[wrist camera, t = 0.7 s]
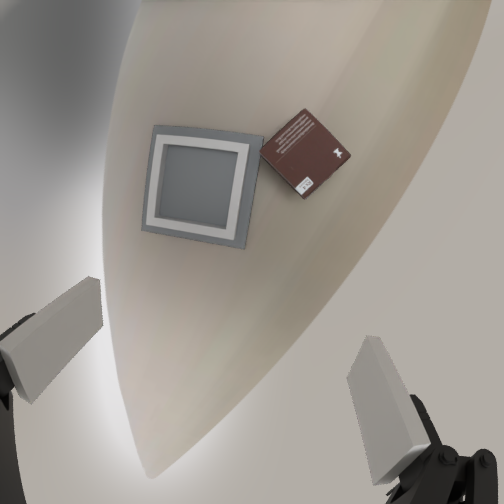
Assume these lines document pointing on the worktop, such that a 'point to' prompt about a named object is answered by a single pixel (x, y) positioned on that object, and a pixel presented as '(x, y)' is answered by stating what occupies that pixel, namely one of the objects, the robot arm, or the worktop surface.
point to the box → (304, 153)
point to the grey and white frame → (201, 184)
